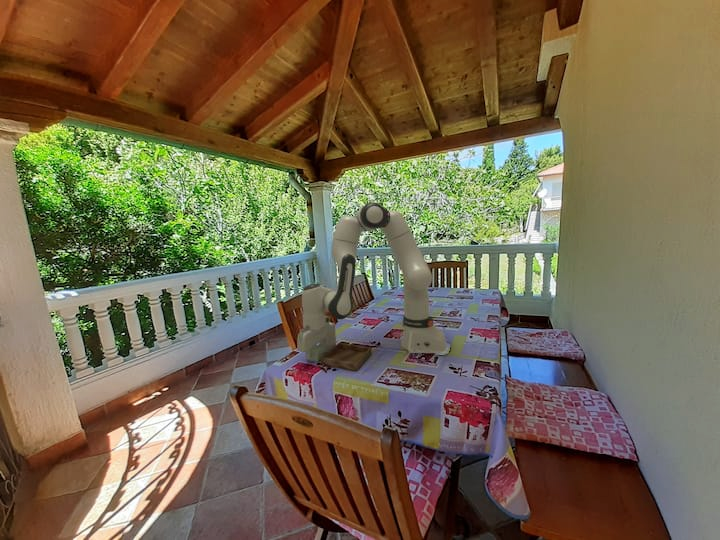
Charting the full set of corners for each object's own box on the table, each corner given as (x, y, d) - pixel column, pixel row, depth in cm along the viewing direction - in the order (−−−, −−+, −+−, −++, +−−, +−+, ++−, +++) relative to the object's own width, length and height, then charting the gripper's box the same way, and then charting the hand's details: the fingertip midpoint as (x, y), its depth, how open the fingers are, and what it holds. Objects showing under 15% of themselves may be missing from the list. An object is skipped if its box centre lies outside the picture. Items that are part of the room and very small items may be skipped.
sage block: (324, 357, 125) (323, 346, 124) (317, 362, 121) (317, 350, 120) (314, 355, 127) (313, 344, 126) (307, 360, 123) (307, 349, 122)
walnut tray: (371, 354, 126) (371, 347, 126) (356, 371, 112) (356, 364, 111) (339, 348, 133) (339, 342, 132) (321, 364, 118) (320, 357, 118)
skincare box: (330, 345, 136) (329, 321, 134) (336, 348, 133) (335, 323, 131) (320, 350, 132) (319, 325, 130) (326, 352, 129) (324, 327, 127)
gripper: (305, 332, 111) (307, 365, 113) (332, 316, 129) (333, 345, 131) (292, 329, 113) (294, 362, 115) (320, 314, 132) (321, 343, 134)
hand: (315, 353), depth 123 cm, fingers open, 8 cm apart
